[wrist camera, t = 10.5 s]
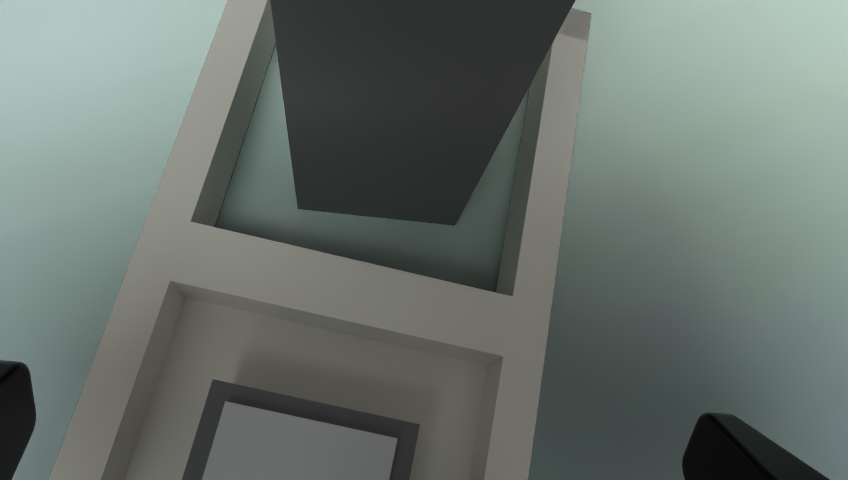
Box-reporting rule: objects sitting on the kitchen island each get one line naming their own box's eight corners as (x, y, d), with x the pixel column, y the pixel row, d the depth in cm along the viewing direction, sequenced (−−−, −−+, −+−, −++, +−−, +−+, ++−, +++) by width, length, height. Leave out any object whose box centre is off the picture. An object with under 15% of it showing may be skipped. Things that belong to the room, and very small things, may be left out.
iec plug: (454, 225, 19) (685, -205, 7) (297, 208, 18) (232, -289, 6) (460, 104, 20) (661, -444, 8) (314, 85, 20) (286, -528, 7)
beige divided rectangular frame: (263, -22, 21) (251, -110, 17) (565, 56, 21) (607, -15, 18) (10, 690, 14) (-84, 759, 11) (459, 772, 15) (496, 860, 11)
